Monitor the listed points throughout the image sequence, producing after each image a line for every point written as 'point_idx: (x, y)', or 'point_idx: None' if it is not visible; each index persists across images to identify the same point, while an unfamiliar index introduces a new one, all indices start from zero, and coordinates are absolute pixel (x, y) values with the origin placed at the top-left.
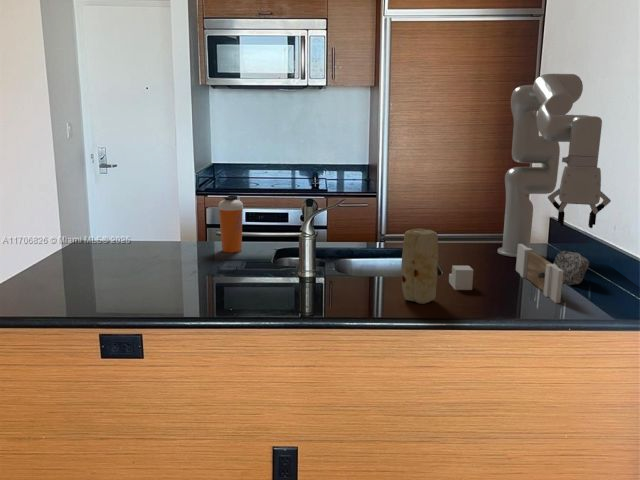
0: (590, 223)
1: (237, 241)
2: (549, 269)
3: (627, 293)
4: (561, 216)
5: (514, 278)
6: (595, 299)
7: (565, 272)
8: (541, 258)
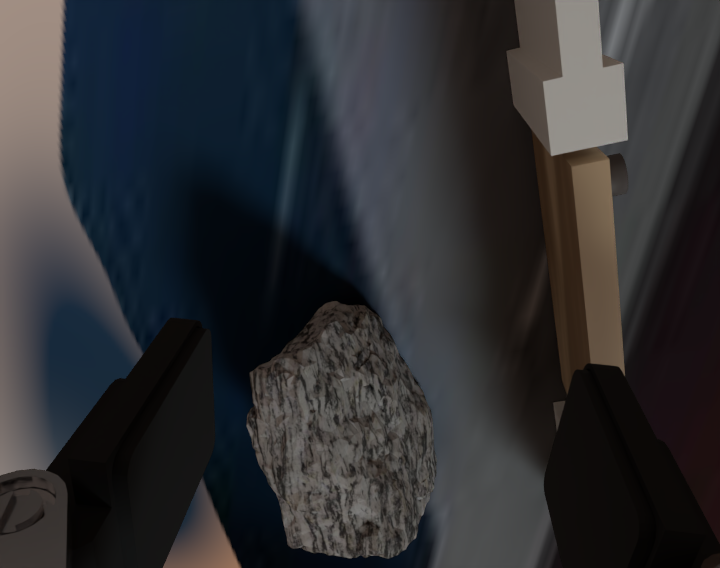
0: (183, 358)
1: None
2: (611, 59)
3: (89, 229)
4: (663, 482)
5: (648, 377)
6: (268, 67)
7: (385, 380)
8: (608, 311)
